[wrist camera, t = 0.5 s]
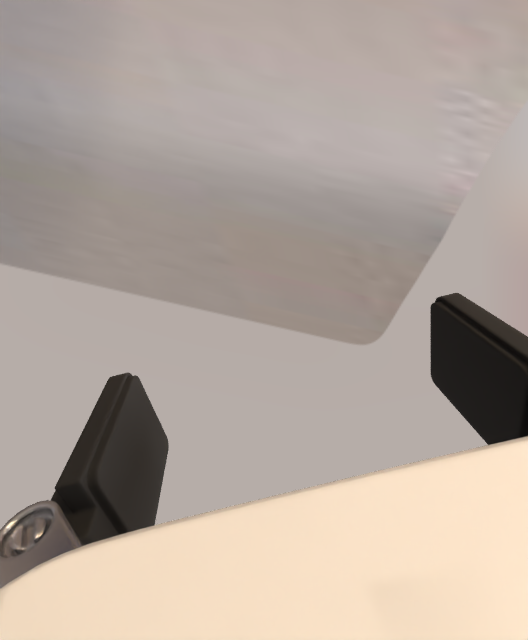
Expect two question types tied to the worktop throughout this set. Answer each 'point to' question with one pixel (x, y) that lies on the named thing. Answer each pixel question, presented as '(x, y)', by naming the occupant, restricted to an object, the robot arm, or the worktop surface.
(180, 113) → the worktop surface
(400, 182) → the worktop surface
